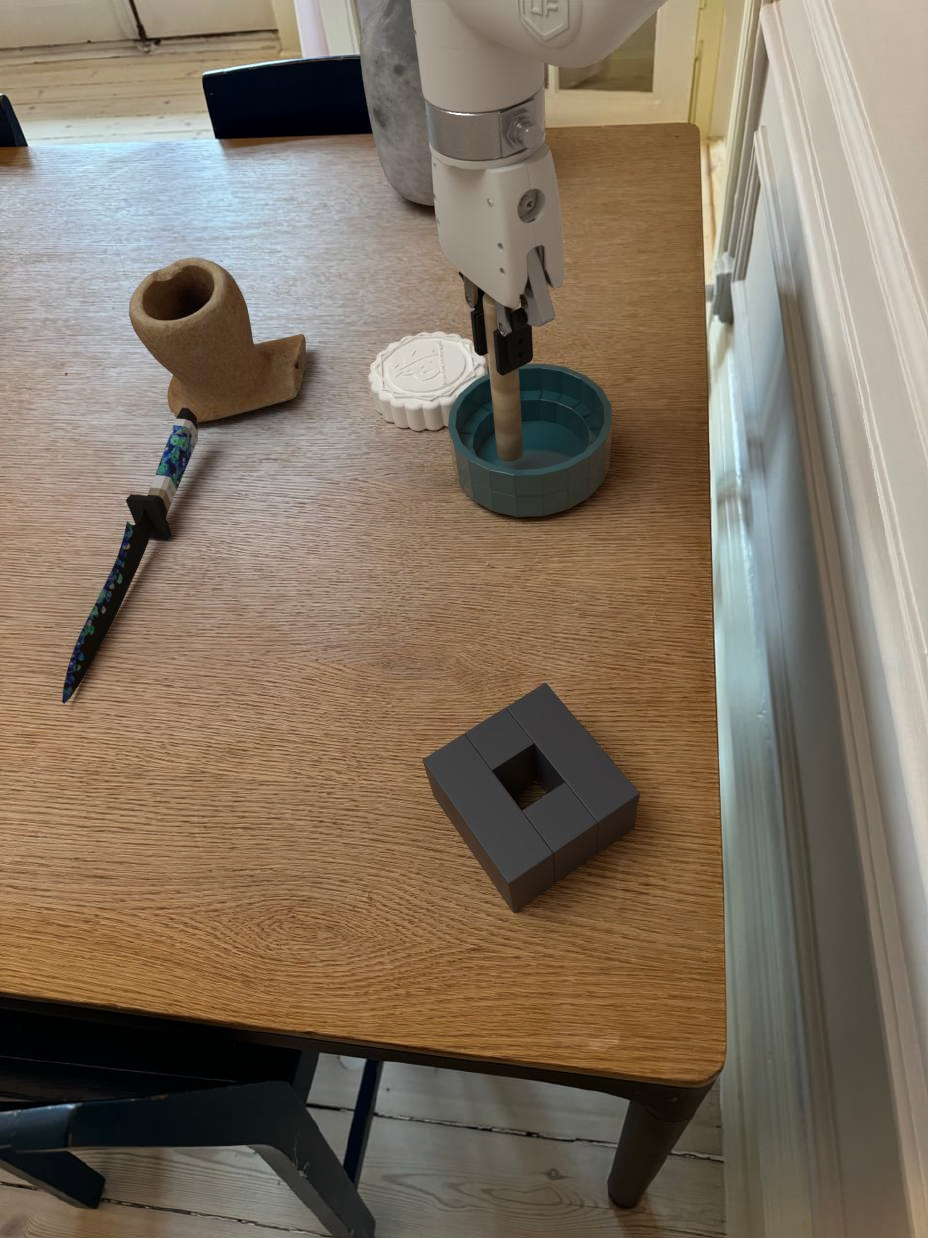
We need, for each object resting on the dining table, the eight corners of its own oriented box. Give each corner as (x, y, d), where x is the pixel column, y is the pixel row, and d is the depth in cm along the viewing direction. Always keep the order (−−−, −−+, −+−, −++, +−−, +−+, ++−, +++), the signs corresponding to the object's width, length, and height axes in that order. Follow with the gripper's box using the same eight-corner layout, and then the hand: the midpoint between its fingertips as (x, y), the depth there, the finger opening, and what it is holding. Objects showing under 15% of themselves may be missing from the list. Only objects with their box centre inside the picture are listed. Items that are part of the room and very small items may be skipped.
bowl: (548, 393, 86) (547, 343, 81) (641, 473, 78) (646, 424, 73) (427, 456, 82) (418, 408, 77) (512, 547, 74) (508, 500, 70)
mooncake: (371, 363, 91) (364, 335, 88) (482, 347, 91) (479, 318, 88) (375, 440, 84) (368, 412, 81) (495, 422, 84) (493, 394, 81)
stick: (513, 439, 78) (502, 282, 65) (528, 453, 77) (520, 297, 64) (492, 451, 77) (476, 295, 64) (507, 465, 76) (494, 310, 63)
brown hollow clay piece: (171, 450, 86) (106, 323, 74) (173, 377, 93) (114, 250, 81) (318, 420, 87) (278, 289, 74) (310, 349, 94) (271, 219, 81)
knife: (195, 433, 85) (176, 402, 82) (222, 437, 85) (204, 405, 81) (53, 710, 72) (22, 688, 68) (84, 716, 71) (54, 694, 67)
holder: (547, 722, 64) (545, 681, 59) (634, 828, 59) (640, 793, 54) (433, 796, 62) (421, 759, 57) (513, 913, 56) (508, 884, 51)
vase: (401, 160, 116) (356, -123, 92) (517, 160, 113) (503, -133, 88) (370, 225, 107) (312, -69, 83) (496, 227, 104) (473, -78, 80)
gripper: (613, 140, 50) (603, 388, 65) (465, 58, 59) (486, 293, 74) (509, 187, 49) (523, 431, 63) (372, 95, 57) (413, 329, 72)
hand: (503, 355), depth 69 cm, fingers closed on stick, 2 cm apart
